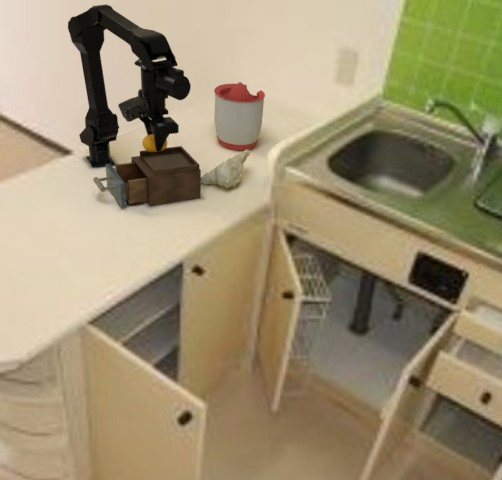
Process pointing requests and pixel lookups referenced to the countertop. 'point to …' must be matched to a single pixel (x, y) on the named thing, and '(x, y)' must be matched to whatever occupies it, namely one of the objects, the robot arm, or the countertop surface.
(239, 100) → the citrus juicer
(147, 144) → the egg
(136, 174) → the drawer
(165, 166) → the dark brown shallow tray
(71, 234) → the countertop surface
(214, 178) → the white conch shell
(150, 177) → the cabinet
